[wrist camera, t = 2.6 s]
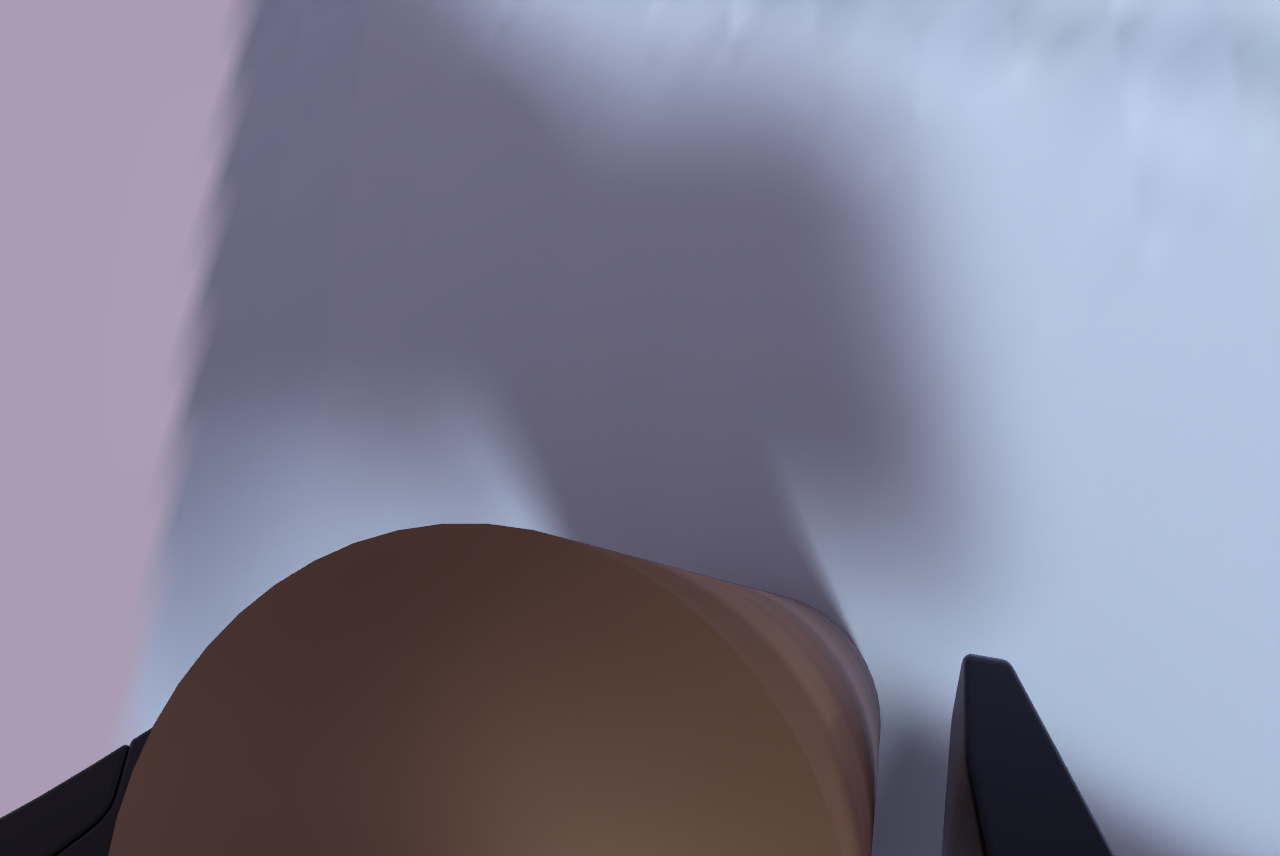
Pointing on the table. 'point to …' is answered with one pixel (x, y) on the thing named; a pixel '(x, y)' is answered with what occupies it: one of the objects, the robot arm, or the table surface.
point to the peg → (511, 713)
